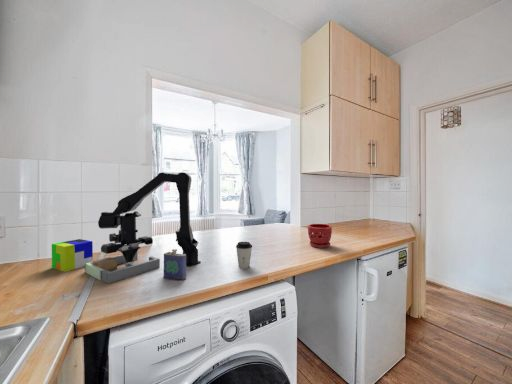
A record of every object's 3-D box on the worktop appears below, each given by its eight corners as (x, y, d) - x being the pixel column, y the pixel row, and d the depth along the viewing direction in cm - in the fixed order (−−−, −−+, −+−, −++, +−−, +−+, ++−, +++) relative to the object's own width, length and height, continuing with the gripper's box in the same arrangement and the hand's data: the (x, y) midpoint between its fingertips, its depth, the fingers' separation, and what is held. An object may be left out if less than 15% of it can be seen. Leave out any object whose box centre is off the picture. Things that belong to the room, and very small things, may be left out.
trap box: (160, 266, 93) (160, 258, 92) (107, 283, 76) (107, 273, 76) (136, 258, 103) (136, 251, 103) (84, 272, 87) (84, 263, 87)
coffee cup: (255, 265, 95) (255, 242, 94) (247, 270, 88) (247, 245, 88) (241, 262, 98) (241, 240, 98) (232, 267, 92) (232, 243, 92)
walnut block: (117, 272, 87) (116, 259, 87) (99, 277, 82) (99, 263, 82) (110, 269, 90) (109, 257, 90) (92, 273, 85) (92, 260, 85)
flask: (187, 278, 81) (187, 249, 81) (182, 281, 78) (182, 251, 78) (166, 275, 84) (166, 247, 83) (161, 278, 81) (160, 249, 81)
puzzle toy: (92, 264, 96) (92, 241, 96) (65, 271, 87) (64, 246, 87) (79, 260, 100) (79, 239, 100) (51, 268, 91) (51, 244, 91)
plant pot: (307, 242, 134) (307, 223, 134) (329, 243, 132) (330, 223, 132) (308, 248, 122) (308, 226, 121) (333, 249, 119) (333, 227, 119)
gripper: (139, 223, 105) (140, 255, 106) (94, 229, 90) (95, 267, 90) (153, 225, 99) (153, 259, 99) (107, 232, 84) (108, 273, 84)
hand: (129, 264), depth 93 cm, fingers closed
